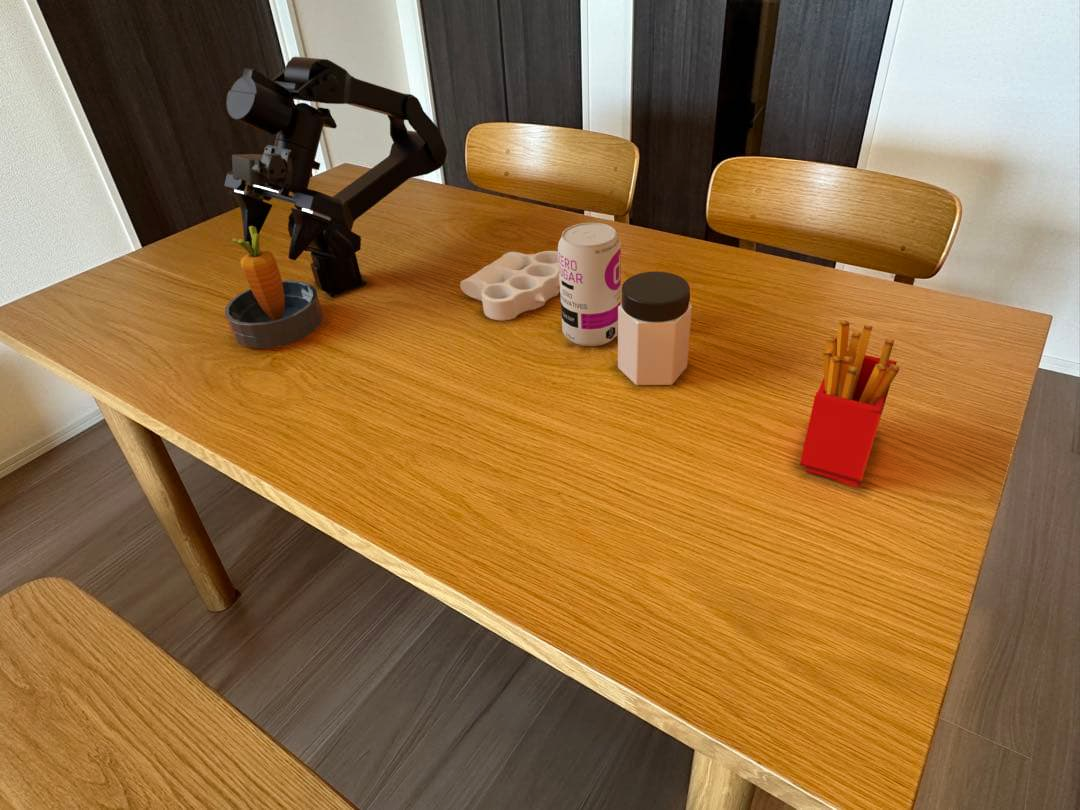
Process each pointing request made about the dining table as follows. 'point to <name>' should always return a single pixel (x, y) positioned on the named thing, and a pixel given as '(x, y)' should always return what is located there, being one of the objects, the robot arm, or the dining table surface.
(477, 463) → the dining table surface
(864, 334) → the french fries container
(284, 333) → the bowl
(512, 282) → the white holed block
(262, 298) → the carrot
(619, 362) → the jar
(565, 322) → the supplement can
